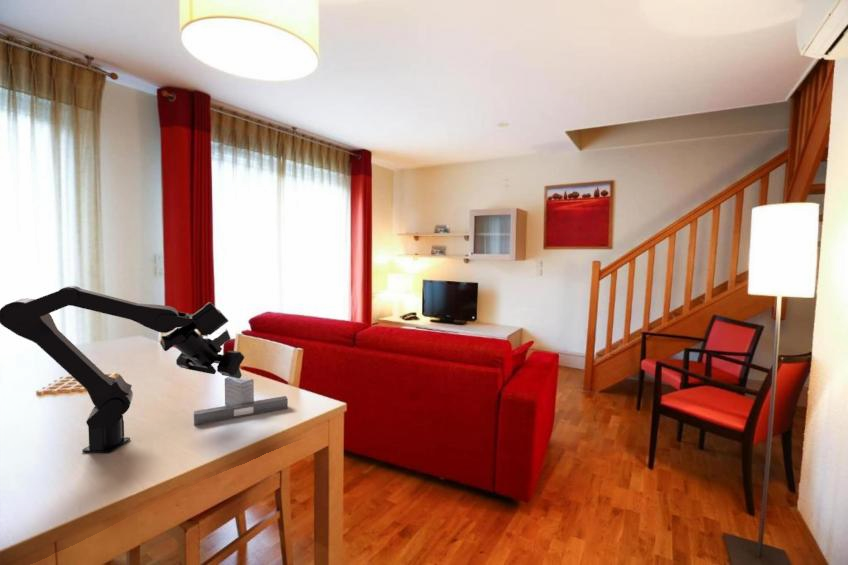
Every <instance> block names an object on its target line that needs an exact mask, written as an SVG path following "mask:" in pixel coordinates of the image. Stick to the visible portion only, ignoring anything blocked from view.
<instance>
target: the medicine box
mask: <svg viewBox="0 0 848 565" xmlns="http://www.w3.org/2000/svg"><path fill="white" fill-rule="evenodd" d="M254 386H255V382H254V379H253V378H251V377H247V376H245V375H242V376H241V378H240V379H239V378H234V377H229V376H226V377H225V378H224V406H228V405H234V404H240V403H246V402H252V401H255V400H254V399H255V394H254V393H255V388H254Z"/></svg>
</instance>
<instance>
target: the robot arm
mask: <svg viewBox="0 0 848 565" xmlns="http://www.w3.org/2000/svg"><path fill="white" fill-rule="evenodd" d="M69 306H72V307H76V308H80V309H84V310H89V311H93V312H97V313H102V314H106V315H110V316H113V317H118V318H123V319H126V320H130V321H132V322H136V323H137V324H139V325H142V326H143V327H146V328H148V329H150V330H152V331H155V332H157V333H160V334H166V333H169V334H167V335H162V336H161V340H160V342H159V343H160V346H161V347H162V349H163V351H164V352H168V351H169V350H170V349H171V348H173V347H174V348H175V349H177V350H178V351H179V352H180V354H179V355H178V357H177V358H176V362H175V363H176V366H178V367H179V368H181V369H185V370H189V371H194V372H200V373H205V374H210V375H215V374H216V373H217V372H218V373H219V374H221V376H225V377H234V378H239V379H240V378H241V376H243V374H242V372H241V368H240V366H241V364H242V363H243V361H244V359H245V355H244V354H243V353H242V352H241V351H235V350H228V351H226V352H225V353H224V354H221V353H220V352H221V351H222V350H223V347H222V346H223V345H224V344H226V343H227V342H228V341H230V340H231V338H232V337H231V335H230V334H229V333H230V332H229V331H228V329H227V328H226V327H223V326H225V325H226V324H228V322H229V319H228V318H227V317H226V316H225V315H224V313H222V312H221V310H220V309H218V308H217V307H216V306H215V305H214V304H212V302H211V301H209V302H207V303H206V304H205V305H203V307H201V308H200V309H198V310H197V311H196V312H195V313H188V312H183V311H178V310H177V309H176V308H174V307H173V306H170V305H162V304H154V303H153V304H147V303H139V302H138V303H137V302H134V301H129V300H127V299H123V298H119V297H116V296H115V297H114V296H111V295H107V294H103V293H99V292H95V291H92V290H88V289H84V288H81V287H79V286H77V285H68V286H64V287H63V288H60V289H59V290H57V291H54V292H52V293H49V294H46V295H44V296H41V297H38V298H21V299H18V300H15V301H11V302H9V303H7V304H5V305H3V306H2V307H1V308H0V324H1V325H2V327H4V328H5V329H7V330H9V331H11V332H12V333H13V334H15V335H17V336H19V337H22V338H23V339H26V340H28V341H31V342H33V343H34V344H36V345H37V346H38V347H39V348H40V349H42V351H43V352H45V353H46V354H47V355H48V356H49V357H50V358H52V359H53V360H54V361H55V363H57V364H58V365H59V366H60V367H61V368H63V370H64V371H65V372H67V373H68V374H69V375H70V376H71V377H72V378H73V379H74V380H75V381H76V382H78V383H79V384H80V385H81V386H82V387H83V388H84V389H85V390H86V392H87V393H88V396H89V398H90V400H91V402H92V403H93V408H92V410H91V412H90V414H89V416H88V417H87V419H86V421H85V423H86V424H87V426H88V427H87V428H88V429H87V430H88V445H87V446H86V447H84V448H83V449H82V451H81V452H82V453H101V454H102V453H103V454H104V453H105V454H106V453H112V452H114V451H115V450H117V449H118V448H120V447H121V446H123V445H125V443H128V442H129V441H131V437H130V436H129V437H128V436H127V437H126V436H125V422H124V414H125V413H127V412H128V411H129V408H130V406H131V404H132V401H133V396H134V394H133V393H134V392H133V390H132V385H133V384H130V383H128V382H126V381H125V379H124V378H123V377H122V375H121V374H118V375H117V376H116V377H112V376H109V375H107V374H105V373H104V372H103V371H102V370H101V369H100V368H99V367H98V366H97V365H96V364H94V363H93V361H91V359H89V357H88V356H86V354H84V353H83V352H82V351H81V350H80V349H79V348H78V347H77V346H76V345H75V344H74V343H72V342H71V341H70V340H69V339H68V338H67V336H66V335H64V334H63V333H62V332H61V331H60V330H59V329H58V327H57V325H56V323H55V321H54V318H53V316H52V315H51V314H52V313H53V312H55V311H58V310H60V309H63V308H66V307H69ZM196 330H197V331H198V332H199V333H198V332H197V331H196ZM219 353H220V354H219ZM212 364H218V365H217V366H216V368H214V366H213V365H212Z"/></svg>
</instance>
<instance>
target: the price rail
mask: <svg viewBox="0 0 848 565" xmlns="http://www.w3.org/2000/svg"><path fill="white" fill-rule="evenodd" d="M288 402H289V401H288V397H287V396H286V395H282V396H279V397H271V398H270V397H269V398H265V399H260V400H258V399H257V400H254V401H252V402H246V403H240V404H234V405H228V406H225V405H223V406H217V407H211V408H205V409H200V410H199V409H198V410H194V411H193V425H194V426H199V425H200V426H201V425H204V424H210V423H216V422H217V423H218V422H222V421H228V420H231V419H232V420H233V419H239V418H242V417H244V418H245V417H249V416H250V417H251V416H255V415H260V414H266V413H272V412H276V410H277V411H282V410H287V409H286V408H288V407H289V404H288ZM281 409H282V410H281Z"/></svg>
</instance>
